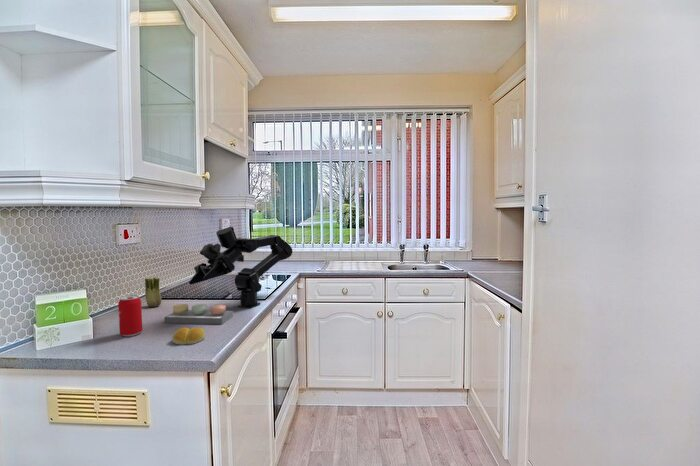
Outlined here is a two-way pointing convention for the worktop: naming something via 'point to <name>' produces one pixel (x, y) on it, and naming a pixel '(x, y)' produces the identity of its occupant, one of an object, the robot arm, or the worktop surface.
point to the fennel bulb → (152, 292)
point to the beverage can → (130, 315)
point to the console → (198, 317)
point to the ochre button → (180, 308)
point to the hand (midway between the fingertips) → (196, 281)
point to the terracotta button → (218, 309)
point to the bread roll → (188, 336)
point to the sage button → (199, 308)
